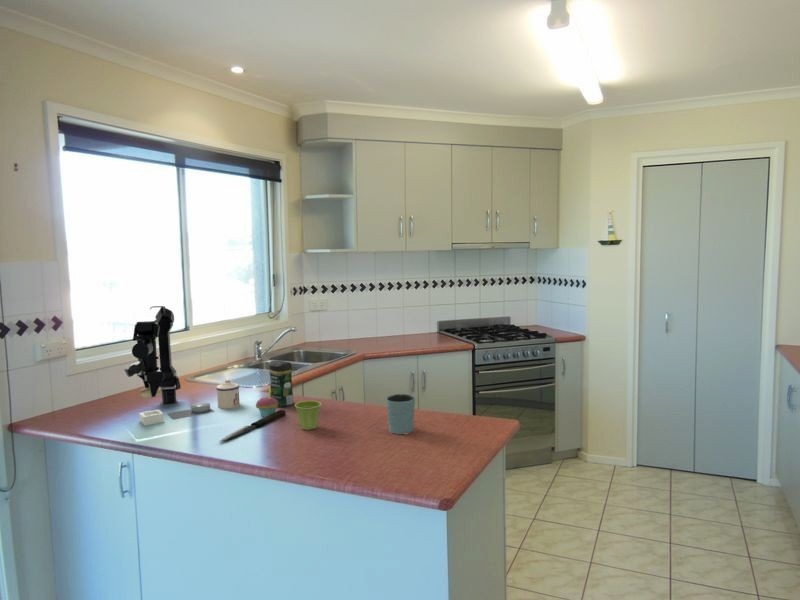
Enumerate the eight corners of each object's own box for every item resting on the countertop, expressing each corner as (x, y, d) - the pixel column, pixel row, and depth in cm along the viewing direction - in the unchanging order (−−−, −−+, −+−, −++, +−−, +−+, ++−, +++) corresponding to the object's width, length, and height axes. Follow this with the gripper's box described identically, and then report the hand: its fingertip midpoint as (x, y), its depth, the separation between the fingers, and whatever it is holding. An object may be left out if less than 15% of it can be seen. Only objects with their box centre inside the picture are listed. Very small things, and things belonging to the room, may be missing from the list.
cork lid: (138, 395, 210) (137, 389, 210) (158, 392, 215) (157, 385, 215) (143, 399, 205) (143, 392, 205) (164, 395, 210) (163, 389, 209)
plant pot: (326, 424, 205) (325, 401, 204) (314, 432, 196) (313, 408, 195) (303, 422, 208) (303, 399, 207) (290, 430, 199) (290, 406, 198)
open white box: (139, 423, 212) (139, 412, 211) (159, 419, 216) (158, 409, 215) (144, 427, 206) (143, 417, 206) (164, 423, 210) (163, 413, 210)
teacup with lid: (238, 409, 227) (237, 381, 225) (215, 411, 225) (213, 383, 224) (242, 402, 238) (241, 375, 237) (220, 403, 237) (219, 376, 236)
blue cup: (412, 425, 202) (411, 392, 201) (418, 434, 192) (418, 400, 191) (384, 427, 200) (383, 395, 199) (390, 437, 190) (389, 402, 189)
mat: (166, 415, 221) (166, 413, 221) (206, 408, 230) (206, 406, 230) (173, 421, 213) (173, 419, 213) (215, 413, 222) (215, 411, 222)
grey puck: (188, 410, 224) (188, 405, 224) (205, 406, 229) (205, 401, 229) (196, 414, 219) (196, 408, 218) (213, 410, 224) (213, 405, 224)
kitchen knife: (274, 409, 220) (285, 410, 218) (275, 414, 220) (285, 415, 218) (213, 438, 187) (225, 439, 186) (213, 444, 188) (225, 445, 186)
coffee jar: (267, 404, 233) (265, 361, 232) (282, 400, 239) (280, 357, 238) (281, 408, 227) (279, 363, 225) (296, 404, 233) (295, 360, 231)
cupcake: (283, 413, 220) (282, 383, 219) (269, 419, 212) (268, 388, 211) (265, 411, 224) (264, 381, 223) (251, 417, 216) (250, 386, 215)
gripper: (119, 353, 211) (122, 393, 212) (130, 360, 196) (133, 403, 198) (150, 349, 218) (153, 388, 219) (163, 356, 203) (166, 398, 204)
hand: (150, 394), depth 210 cm, fingers closed on cork lid, 7 cm apart
